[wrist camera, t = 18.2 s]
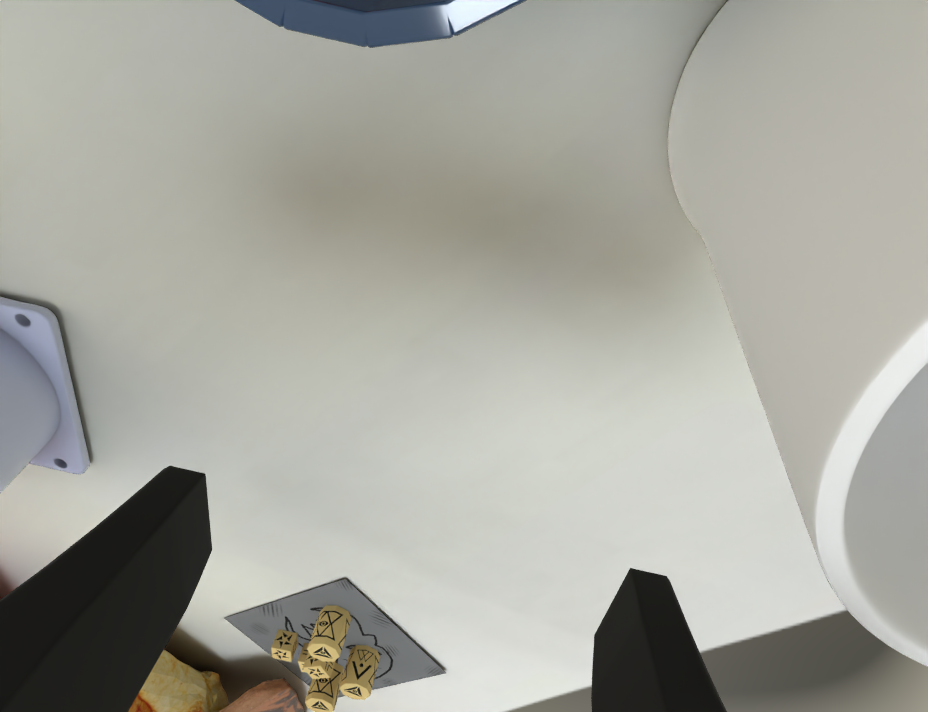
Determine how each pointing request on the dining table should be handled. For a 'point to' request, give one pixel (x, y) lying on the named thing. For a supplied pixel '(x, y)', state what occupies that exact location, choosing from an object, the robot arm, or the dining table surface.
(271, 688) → the pottery shard
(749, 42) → the mug
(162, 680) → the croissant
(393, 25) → the bowl
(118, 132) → the dining table surface
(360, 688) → the dice set
